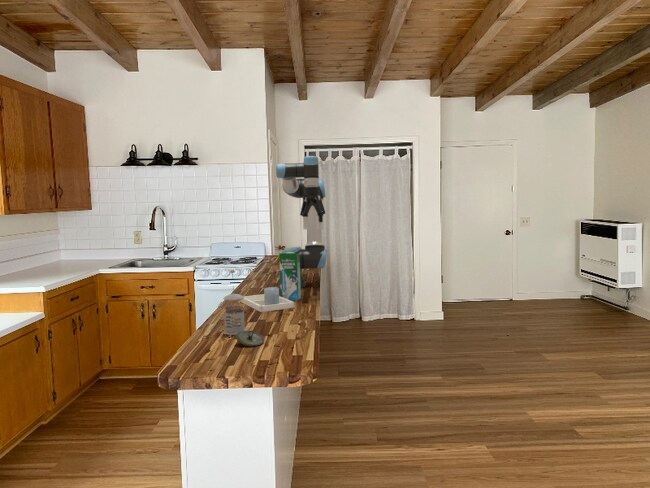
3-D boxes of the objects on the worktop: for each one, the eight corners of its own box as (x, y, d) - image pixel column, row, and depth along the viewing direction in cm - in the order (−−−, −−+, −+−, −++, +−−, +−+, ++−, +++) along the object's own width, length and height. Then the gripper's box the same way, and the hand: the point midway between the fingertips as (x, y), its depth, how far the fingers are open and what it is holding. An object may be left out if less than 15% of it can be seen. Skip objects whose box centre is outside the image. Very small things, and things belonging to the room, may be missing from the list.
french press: (242, 335, 204) (239, 271, 202) (214, 334, 206) (211, 271, 204) (250, 328, 213) (248, 267, 211) (224, 328, 216) (221, 267, 214)
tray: (240, 303, 264) (240, 296, 264) (272, 299, 272) (272, 293, 272) (260, 314, 240) (260, 306, 239) (294, 309, 247) (294, 302, 247)
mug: (262, 306, 251) (261, 288, 250) (276, 304, 254) (275, 286, 253) (269, 310, 243) (269, 290, 242) (283, 308, 246) (283, 289, 245)
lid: (251, 338, 199) (251, 325, 199) (270, 342, 193) (269, 329, 192) (230, 345, 191) (229, 331, 191) (248, 349, 185) (248, 335, 184)
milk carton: (301, 298, 273) (299, 250, 271) (298, 302, 264) (296, 252, 262) (283, 298, 274) (282, 251, 272) (280, 302, 265) (279, 253, 263)
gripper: (292, 188, 273) (294, 229, 274) (318, 184, 252) (319, 228, 253) (305, 189, 277) (306, 229, 278) (331, 185, 256) (332, 228, 257)
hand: (312, 229), depth 265 cm, fingers open, 13 cm apart
